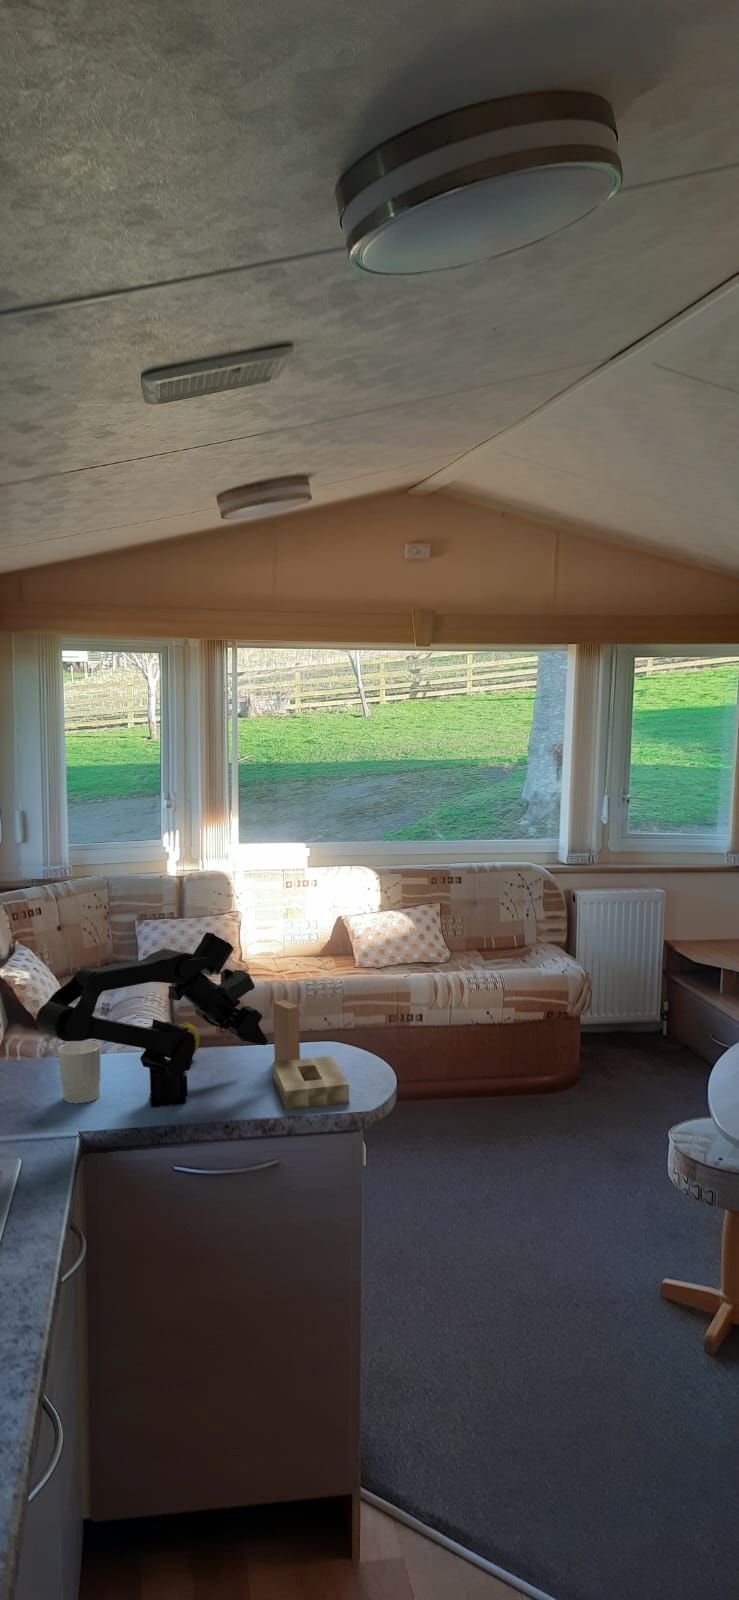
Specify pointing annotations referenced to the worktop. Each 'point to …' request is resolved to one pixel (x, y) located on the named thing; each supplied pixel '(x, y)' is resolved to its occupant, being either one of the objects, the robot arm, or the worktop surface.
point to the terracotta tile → (286, 1031)
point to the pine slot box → (310, 1082)
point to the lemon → (193, 1031)
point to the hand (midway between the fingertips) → (254, 1037)
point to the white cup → (80, 1071)
